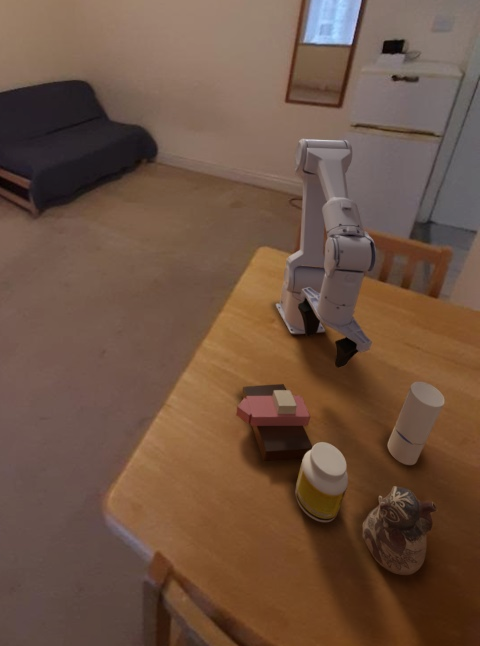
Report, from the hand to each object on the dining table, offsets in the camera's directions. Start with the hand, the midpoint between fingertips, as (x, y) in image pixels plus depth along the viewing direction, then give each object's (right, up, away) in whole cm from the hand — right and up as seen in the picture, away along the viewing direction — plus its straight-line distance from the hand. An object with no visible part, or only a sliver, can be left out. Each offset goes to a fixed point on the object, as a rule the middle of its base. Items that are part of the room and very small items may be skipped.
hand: (324, 349), depth 77 cm
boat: (-12, -10, -5) cm, 17 cm away
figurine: (0, -20, -19) cm, 28 cm away
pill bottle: (-9, -18, -14) cm, 24 cm away
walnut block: (-11, -13, -3) cm, 17 cm away
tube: (+9, -14, -8) cm, 19 cm away
